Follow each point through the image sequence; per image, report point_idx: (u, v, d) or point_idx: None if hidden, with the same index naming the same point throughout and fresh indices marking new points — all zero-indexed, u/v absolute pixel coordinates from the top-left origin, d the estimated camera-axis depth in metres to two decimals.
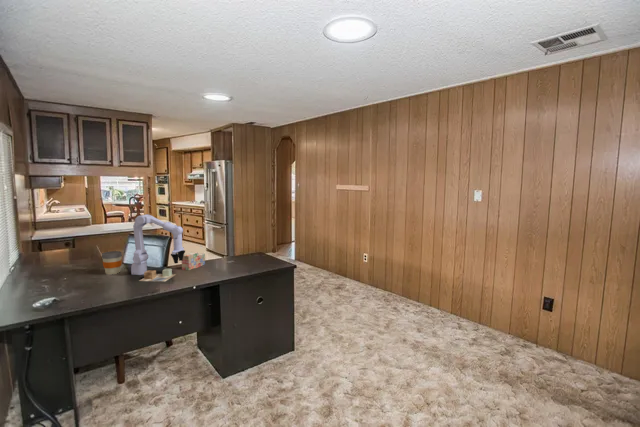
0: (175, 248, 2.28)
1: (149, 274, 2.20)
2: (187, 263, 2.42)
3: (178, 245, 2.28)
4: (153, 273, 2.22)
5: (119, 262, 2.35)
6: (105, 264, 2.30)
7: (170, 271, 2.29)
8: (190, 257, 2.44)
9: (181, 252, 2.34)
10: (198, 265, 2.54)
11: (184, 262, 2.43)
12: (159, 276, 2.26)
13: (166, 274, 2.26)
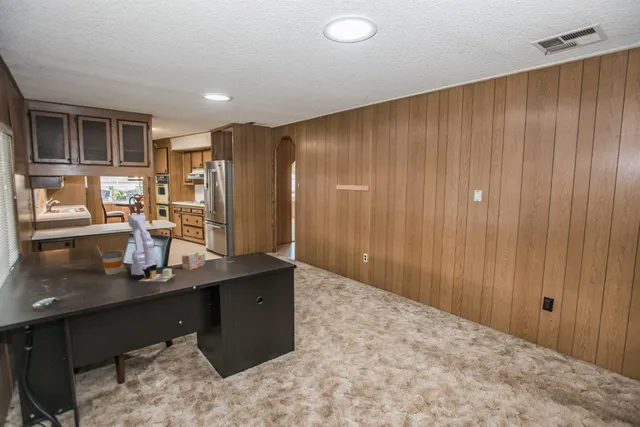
0: (146, 262, 2.19)
1: None
2: (188, 263, 2.42)
3: (149, 259, 2.19)
4: (153, 273, 2.22)
5: (119, 262, 2.35)
6: (105, 264, 2.30)
7: (170, 271, 2.29)
8: (191, 257, 2.44)
9: (153, 266, 2.25)
10: (198, 265, 2.55)
11: (185, 262, 2.43)
12: (159, 276, 2.26)
13: (166, 274, 2.26)
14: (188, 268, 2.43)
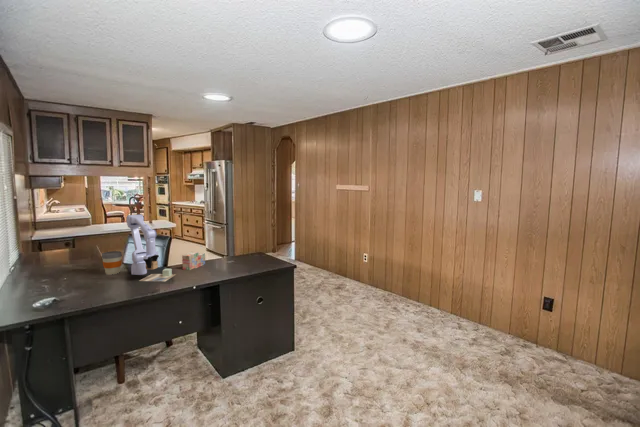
0: (148, 252, 2.17)
1: None
2: (188, 263, 2.43)
3: (151, 249, 2.18)
4: (155, 264, 2.20)
5: (119, 262, 2.35)
6: (105, 264, 2.30)
7: (170, 271, 2.29)
8: (191, 257, 2.44)
9: (154, 257, 2.23)
10: (198, 265, 2.55)
11: (185, 262, 2.43)
12: (159, 276, 2.26)
13: (166, 274, 2.26)
14: (188, 268, 2.43)
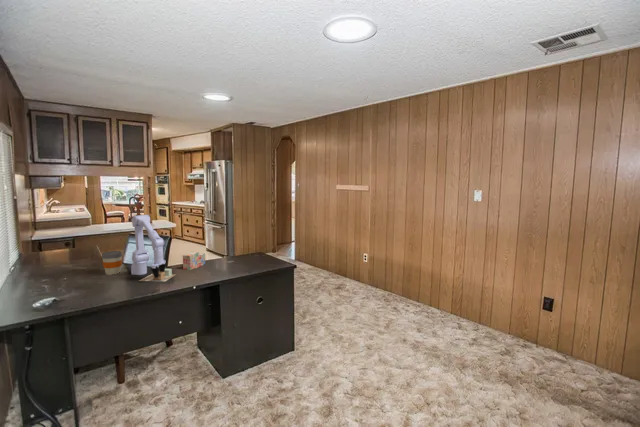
0: (155, 261, 2.16)
1: None
2: (188, 263, 2.43)
3: (158, 258, 2.16)
4: (162, 274, 2.19)
5: (119, 262, 2.35)
6: (105, 264, 2.30)
7: (170, 271, 2.29)
8: (191, 257, 2.45)
9: (162, 265, 2.23)
10: (199, 265, 2.55)
11: (186, 262, 2.43)
12: None
13: (166, 274, 2.26)
14: (189, 268, 2.44)
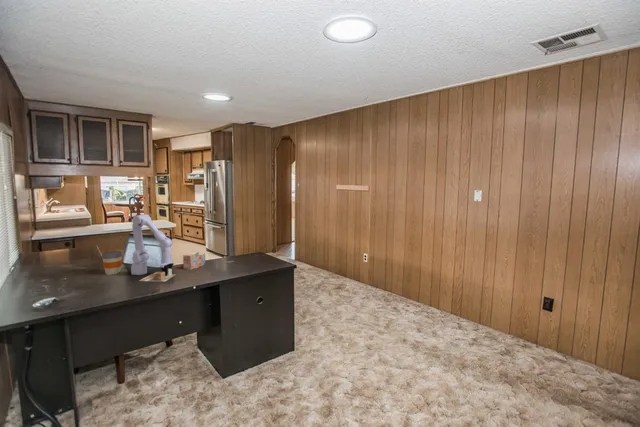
0: (164, 261, 2.25)
1: (158, 275, 2.17)
2: (189, 263, 2.43)
3: (167, 258, 2.25)
4: (162, 274, 2.19)
5: (119, 262, 2.35)
6: (105, 264, 2.30)
7: (170, 271, 2.29)
8: (192, 257, 2.45)
9: (169, 265, 2.30)
10: (199, 265, 2.56)
11: (186, 262, 2.44)
12: None
13: None
14: (189, 268, 2.44)
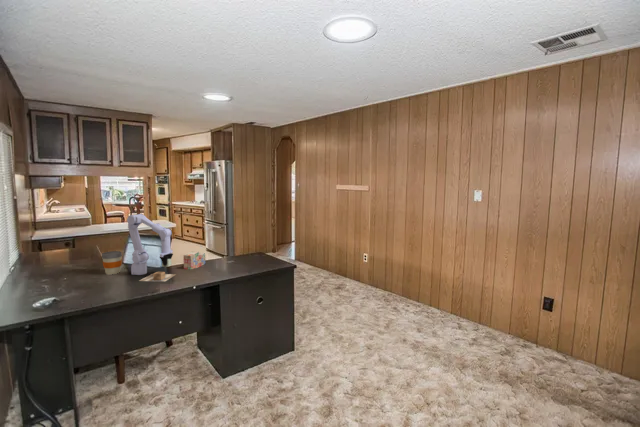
0: (163, 251, 2.24)
1: (158, 275, 2.17)
2: (189, 263, 2.44)
3: (166, 248, 2.24)
4: (162, 274, 2.19)
5: (119, 262, 2.35)
6: (105, 264, 2.30)
7: (170, 261, 2.28)
8: (192, 257, 2.45)
9: (169, 255, 2.29)
10: (199, 264, 2.56)
11: (186, 262, 2.44)
12: None
13: None
14: (190, 268, 2.44)
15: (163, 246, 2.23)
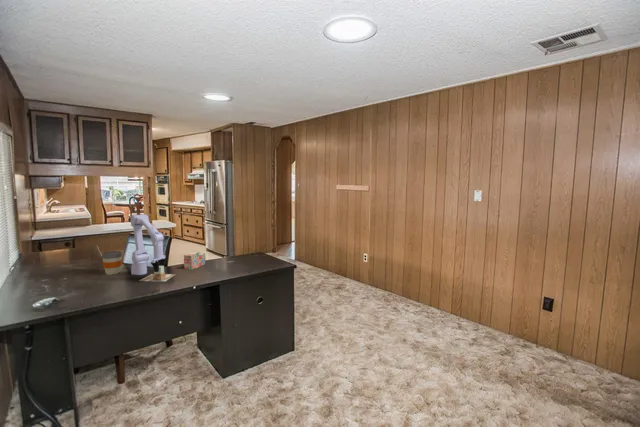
0: (155, 256, 2.15)
1: (158, 275, 2.17)
2: (190, 262, 2.44)
3: (158, 253, 2.15)
4: (162, 274, 2.19)
5: (119, 262, 2.35)
6: (105, 264, 2.30)
7: (162, 268, 2.19)
8: (193, 256, 2.46)
9: (162, 260, 2.22)
10: (199, 264, 2.56)
11: (187, 262, 2.44)
12: None
13: (158, 271, 2.17)
14: (190, 267, 2.44)
15: (155, 251, 2.15)
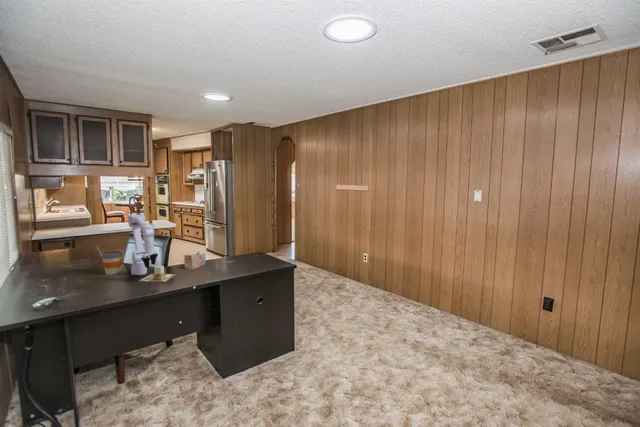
0: (146, 251, 2.15)
1: (158, 275, 2.17)
2: (190, 262, 2.44)
3: (149, 248, 2.15)
4: (162, 274, 2.19)
5: (119, 262, 2.35)
6: (105, 264, 2.30)
7: (162, 268, 2.19)
8: (193, 256, 2.46)
9: (153, 255, 2.22)
10: (200, 264, 2.57)
11: (187, 262, 2.45)
12: None
13: (158, 271, 2.17)
14: (190, 267, 2.45)
15: (146, 246, 2.15)
